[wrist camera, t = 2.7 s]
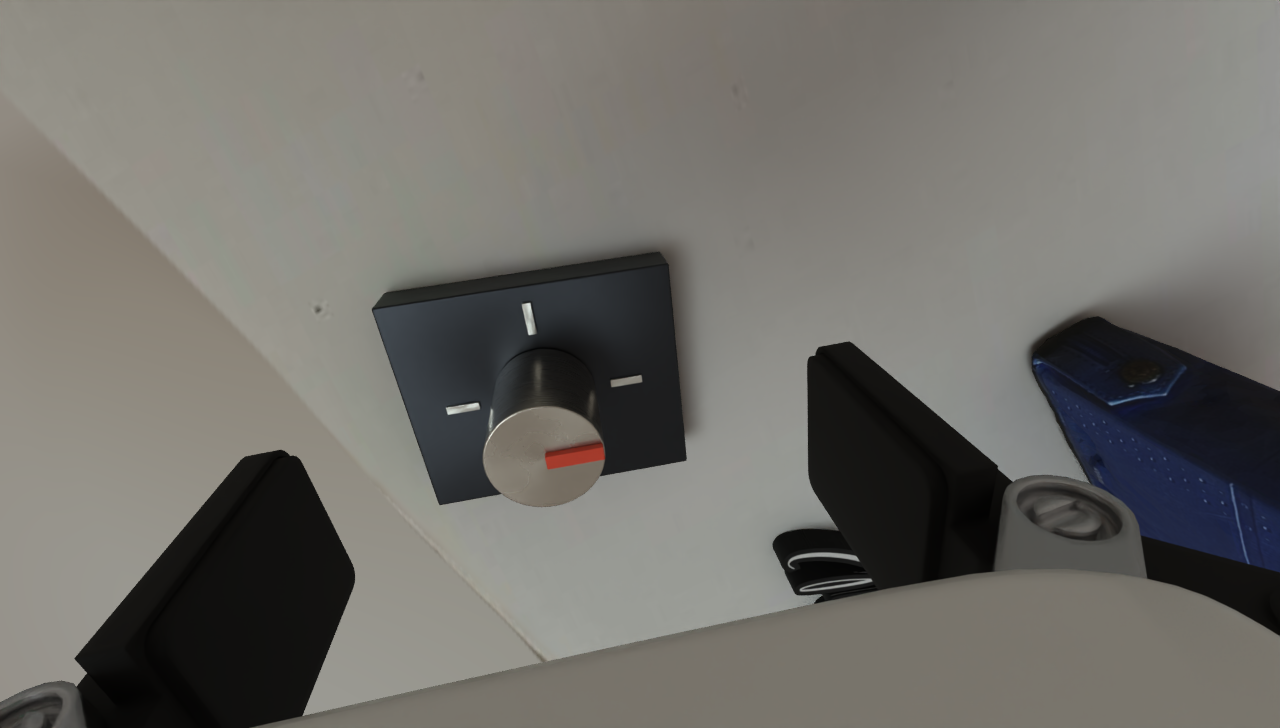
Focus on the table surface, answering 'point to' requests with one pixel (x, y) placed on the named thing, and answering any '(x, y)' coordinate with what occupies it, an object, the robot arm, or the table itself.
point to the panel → (528, 320)
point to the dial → (544, 430)
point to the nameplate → (821, 564)
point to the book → (1170, 438)
